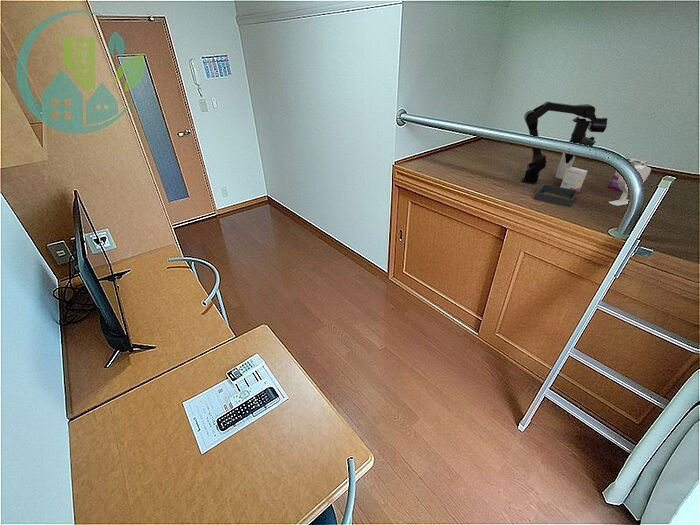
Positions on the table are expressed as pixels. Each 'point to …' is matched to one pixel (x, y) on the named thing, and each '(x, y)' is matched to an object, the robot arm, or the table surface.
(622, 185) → the heart sculpture
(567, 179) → the ink box
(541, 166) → the robot arm
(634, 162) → the candy bar box
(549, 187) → the dark grey tray frame
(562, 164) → the travel mug
